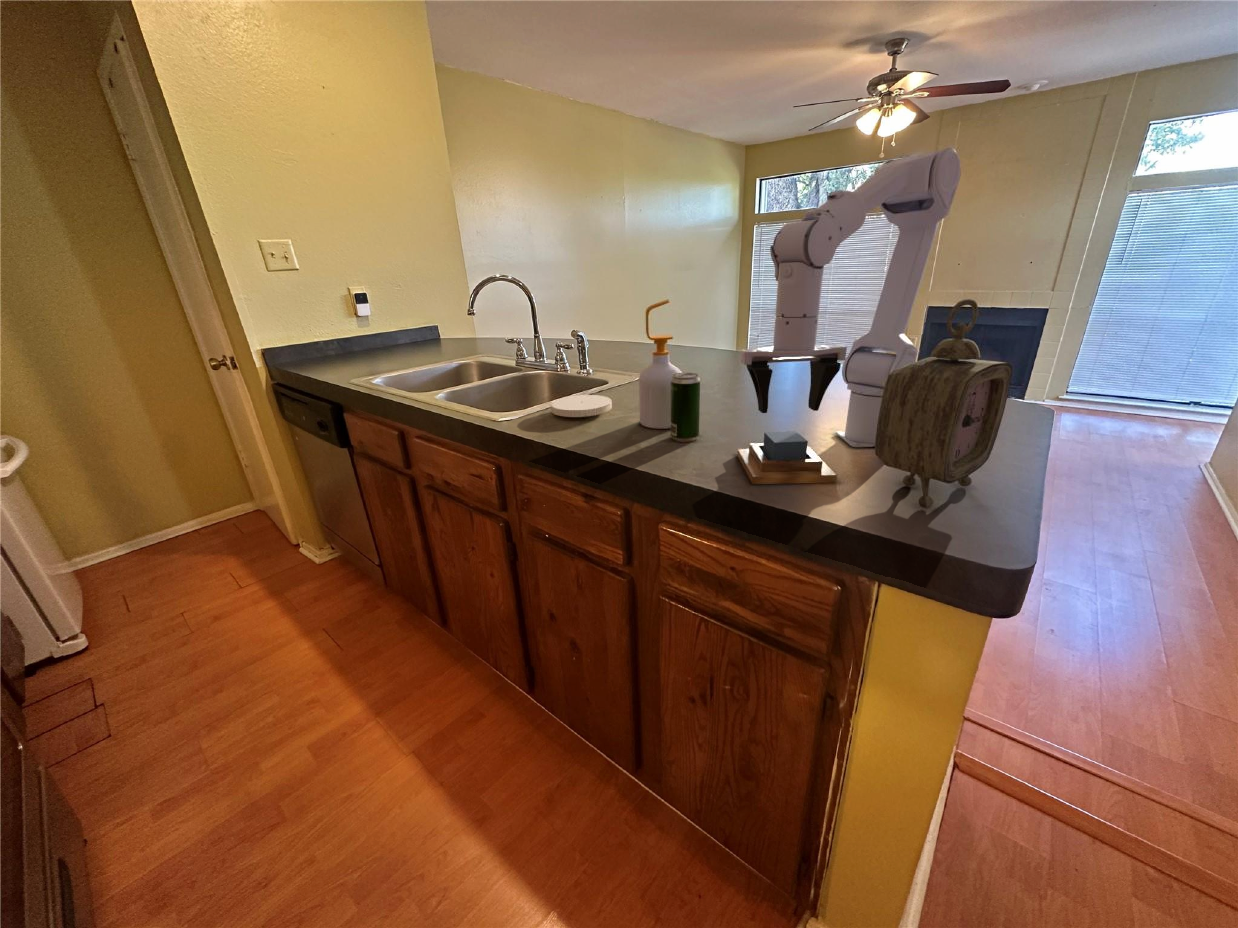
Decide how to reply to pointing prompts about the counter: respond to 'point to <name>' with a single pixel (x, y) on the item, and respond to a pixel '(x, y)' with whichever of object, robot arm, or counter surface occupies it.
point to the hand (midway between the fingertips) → (787, 410)
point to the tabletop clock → (943, 411)
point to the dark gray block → (784, 446)
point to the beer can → (685, 406)
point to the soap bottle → (656, 383)
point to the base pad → (784, 467)
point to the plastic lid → (581, 405)
